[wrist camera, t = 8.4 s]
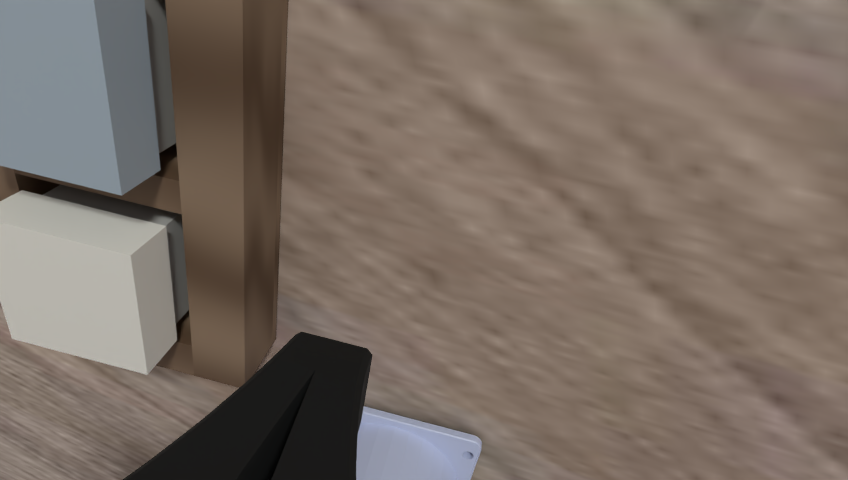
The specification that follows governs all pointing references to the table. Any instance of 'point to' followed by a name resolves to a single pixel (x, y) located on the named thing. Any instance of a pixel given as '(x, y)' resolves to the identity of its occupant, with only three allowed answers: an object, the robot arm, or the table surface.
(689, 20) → the table surface
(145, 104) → the slate key
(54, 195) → the ivory key
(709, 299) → the table surface
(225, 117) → the brown long flat frame
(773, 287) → the table surface
